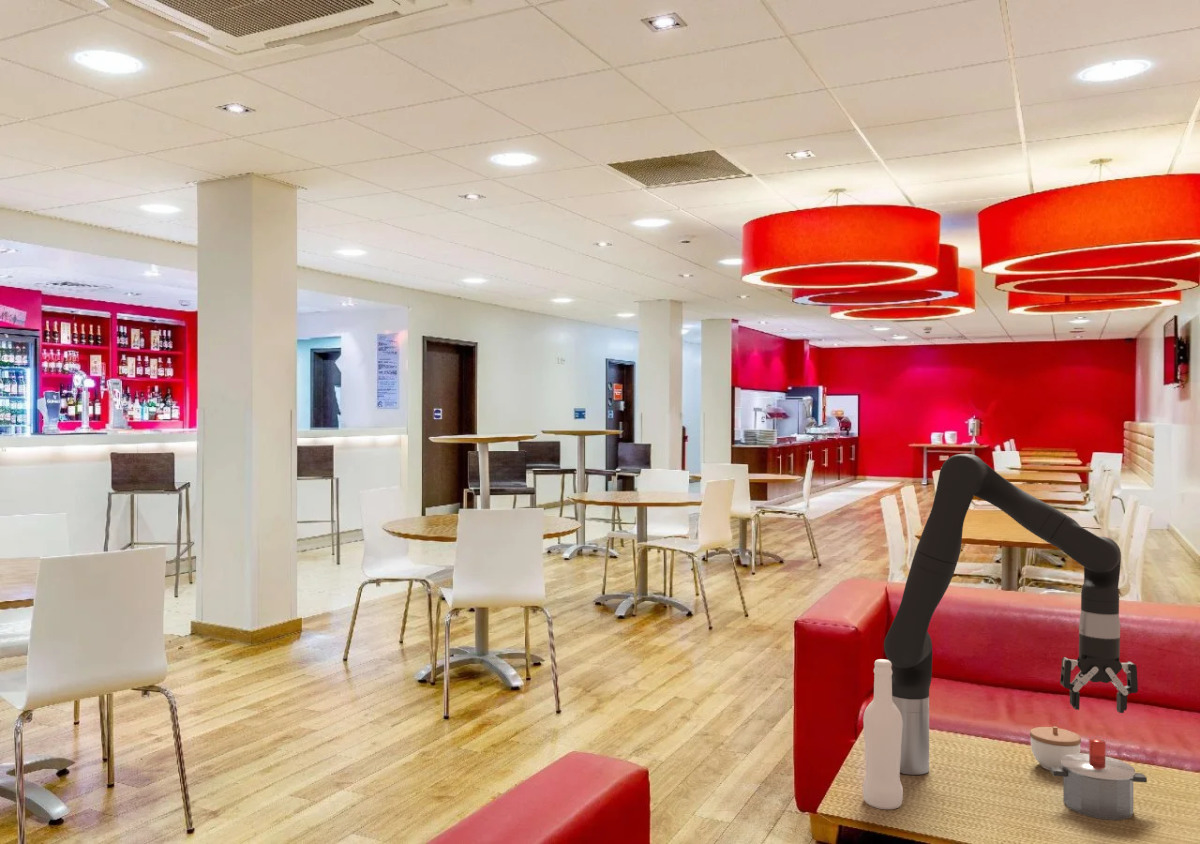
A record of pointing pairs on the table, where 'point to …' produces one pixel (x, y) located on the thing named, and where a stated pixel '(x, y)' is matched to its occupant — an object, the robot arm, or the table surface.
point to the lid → (1097, 764)
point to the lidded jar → (1053, 745)
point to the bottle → (882, 743)
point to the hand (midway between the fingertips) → (1098, 710)
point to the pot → (1098, 795)
